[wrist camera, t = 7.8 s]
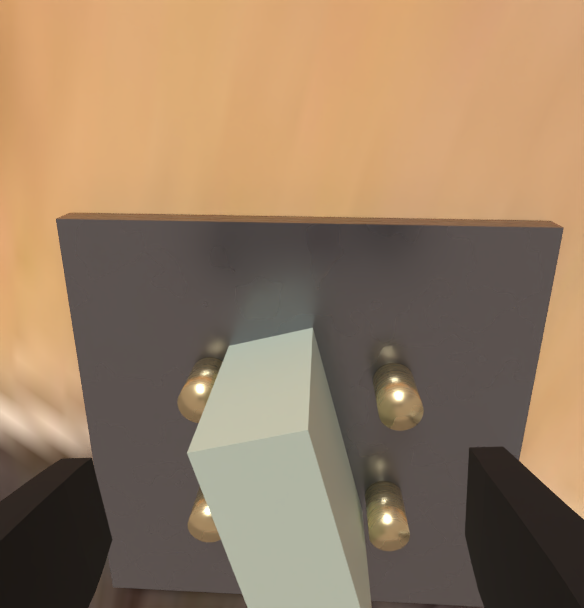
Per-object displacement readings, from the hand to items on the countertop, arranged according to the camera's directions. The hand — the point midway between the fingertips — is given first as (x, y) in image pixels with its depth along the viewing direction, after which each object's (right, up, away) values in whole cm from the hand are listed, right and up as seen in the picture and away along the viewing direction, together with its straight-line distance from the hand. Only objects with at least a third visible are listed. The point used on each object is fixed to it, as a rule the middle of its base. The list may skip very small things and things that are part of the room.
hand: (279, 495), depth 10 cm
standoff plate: (+1, -1, +10) cm, 10 cm away
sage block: (+1, -1, +9) cm, 9 cm away
